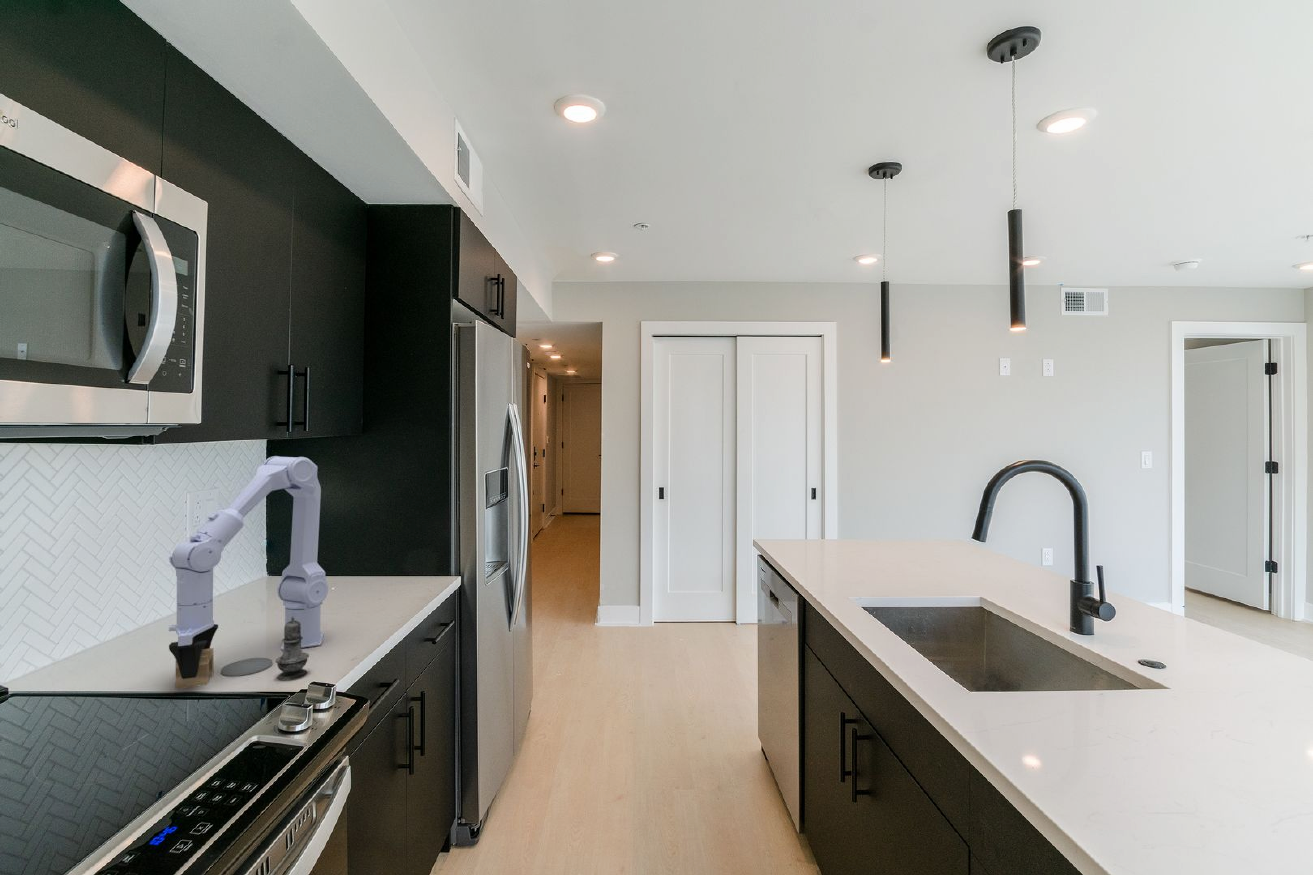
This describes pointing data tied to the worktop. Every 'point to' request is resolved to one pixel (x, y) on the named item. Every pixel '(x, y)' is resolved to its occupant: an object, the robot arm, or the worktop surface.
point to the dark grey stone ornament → (292, 653)
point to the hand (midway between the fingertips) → (194, 670)
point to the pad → (246, 667)
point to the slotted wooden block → (203, 671)
